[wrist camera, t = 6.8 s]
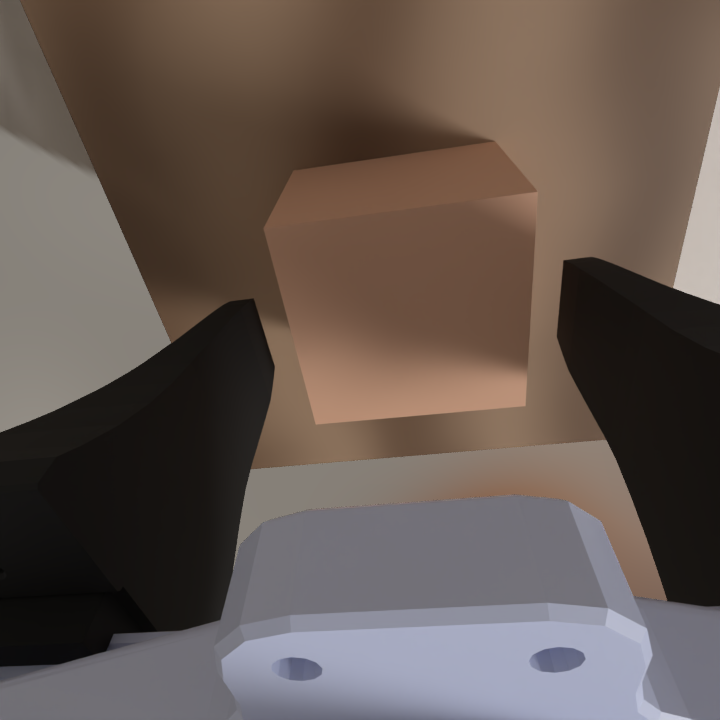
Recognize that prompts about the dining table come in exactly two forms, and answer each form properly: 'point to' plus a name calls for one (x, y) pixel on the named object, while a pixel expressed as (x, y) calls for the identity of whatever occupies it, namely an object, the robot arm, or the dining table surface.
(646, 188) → the walnut base
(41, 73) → the dining table surface
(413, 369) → the terracotta block
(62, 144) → the dining table surface
